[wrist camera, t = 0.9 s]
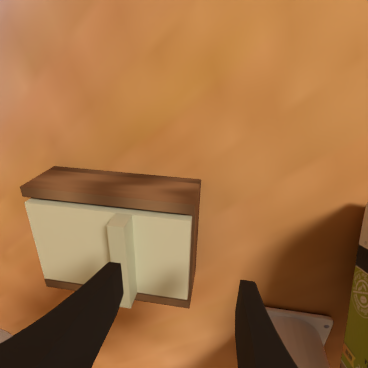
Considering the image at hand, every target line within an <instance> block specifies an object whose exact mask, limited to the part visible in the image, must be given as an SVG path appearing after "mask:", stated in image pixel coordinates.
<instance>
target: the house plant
mask: <svg viewBox="0 0 368 368" xmlns="http://www.w3.org/2000/svg"><path fill="white" fill-rule="evenodd" d="M10 337H12V335H11V334H10V333H8V332H6V331H4V330H2V329H0V343H2V342H3V341H5V340H7V339H9V338H10Z"/></svg>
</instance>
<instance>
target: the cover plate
mask: <svg viewBox="0 0 368 368" xmlns="http://www.w3.org/2000/svg"><path fill="white" fill-rule="evenodd" d="M25 207H26V211H27V214H28V218H29V222H30V226H31V229H32V233H33V237H34V240H35V244H36V248H37V252H38V255H39V259H40V263H41V267H42V270H43V274H44V278H46V279H52V280H59V281H66V282H72V283H79V284H85V283H86V282H87V281H88V280H89V279H90V278H91V277H92V276H94V275H95V274H96V273H97V272H98V271H99V270H100V269H101V268H102V267H103V266H105V265H106V264H107V263H108V262H115V263H121V270H122V280H123V290H124V295H123V298H122V301H121V304H120V306H119V307H124V308H130V309H131V307H132V304H133V302H134V299H135V297H136V294H137V292H138V293H145V294H151V295H158V296H165V297H171V298H178V299H184V300H187V298H188V289H189V269H190V248H191V228H192V216H189V215H179V214H170V213H161V212H152V211H143V210H134V209H125V208H115V207H106V206H97V205H88V204H79V203H70V202H61V201H51V200H42V199H33V198H30V199H29V200H27V201H26V202H25Z"/></svg>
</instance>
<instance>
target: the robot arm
mask: <svg viewBox="0 0 368 368" xmlns="http://www.w3.org/2000/svg"><path fill="white" fill-rule="evenodd" d="M123 295H124V290H123V280H122V270H121V263H115V262H108V263H107V264H106V265H105V266H103V267H102V268H101V269H100V270H99V271H98V272H97V273H96V274H95V275H94V276H92V277H91V278H90V279H89V280H88V281H87V282H86V283H85V284H83V285H82V286H81V287H80V288H79V289H78V290H76V291H75V292H74V293H73V294H72V295H71V296H69V297H68V298H67V299H65V300H64V301H63V302H62V303H60V304H59V305H58V306H57V307H55V308H54V309H53V310H51V311H50V312H49V313H47V314H46V315H44V316H43V317H42V318H40V319H39V320H37V321H36V322H34V323H33V324H31V325H30V326H28V327H27V328H25V329H23V330H22V331H20V332H18V333H17V334H15V335H14V336H12V337H10V338H9V339H7V340H5V341H3V342H2V343H0V368H92V365H93V363H94V361H95V359H96V357H97V354H98V352H99V350H100V348H101V346H102V344H103V342H104V340H105V338H106V336H107V334H108V332H109V330H110V327H111V325H112V323H113V321H114V319H115V317H116V315H117V312H118V309H119V306H120V304H121V301H122V298H123ZM332 326H333V320H332V318H331V317H329V316H323V315H316V314H309V313H303V312H296V311H289V310H282V309H276V308H269V307H265V306H264V304H263V301H262V299H261V296H260V294H259V291H258V288H257V285H256V283H255V282H253V281H246V280H240V286H239V292H238V298H237V304H236V310H235V338H236V350H237V361H238V368H330V365H329V362H328V359H327V356H326V353H325V350H324V345H325V343H326V340H327V338H328V335H329V333H330V330H331V328H332Z"/></svg>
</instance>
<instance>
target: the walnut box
mask: <svg viewBox="0 0 368 368" xmlns="http://www.w3.org/2000/svg"><path fill="white" fill-rule="evenodd" d="M200 187H201V180H199V179H188V178H177V177H166V176H155V175H144V174H133V173H122V172H111V171H100V170H89V169H78V168H67V167H56V166H54V167H52V168H50V169H49V170H47V171H45V172H44V173H42V174H40V175H39V176H37V177H35V178H34V179H32V180H31V181H29V182H27V183H26V184H24V185H22V186H21V187H20V189H21V192H22V196H23V197H31V198H33V199H42V200H51V201H61V202H70V203H79V204H88V205H97V206H106V207H115V208H125V209H134V210H143V211H152V212H161V213H170V214H179V215H189V216H192V228H191V248H190V269H189V289H188V298H187V300H184V299H178V298H171V297H165V296H158V295H151V294H145V293H138V292H137V294H136V297H135V299H134V300H138V301H144V302H151V303H157V304H164V305H170V306H176V307H183V308H189V307H190V301H191V295H192V289H193V283H194V277H195V268H196V251H197V235H198V219H199V203H200ZM45 282H46V286H48V287H54V288H61V289H67V290H74V291H76V290H78V289H79V288H80V287H81V286H82V285H83V284H79V283H72V282H66V281H59V280H52V279H45Z"/></svg>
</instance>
